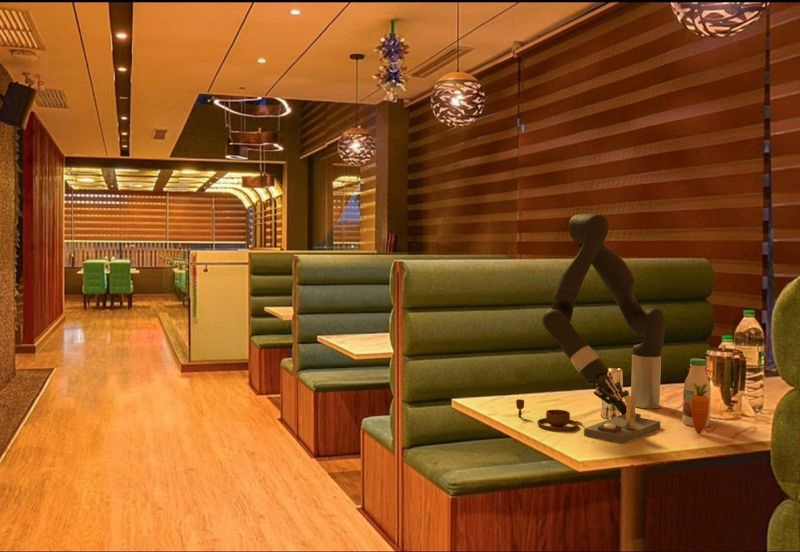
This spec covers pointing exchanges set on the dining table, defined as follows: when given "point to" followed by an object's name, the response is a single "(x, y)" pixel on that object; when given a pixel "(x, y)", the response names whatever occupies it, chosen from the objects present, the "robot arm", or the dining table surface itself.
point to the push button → (610, 426)
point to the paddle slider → (630, 413)
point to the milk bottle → (698, 378)
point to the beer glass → (610, 409)
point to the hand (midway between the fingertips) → (626, 413)
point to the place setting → (553, 419)
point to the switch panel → (622, 429)
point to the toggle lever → (626, 394)
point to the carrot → (699, 408)
